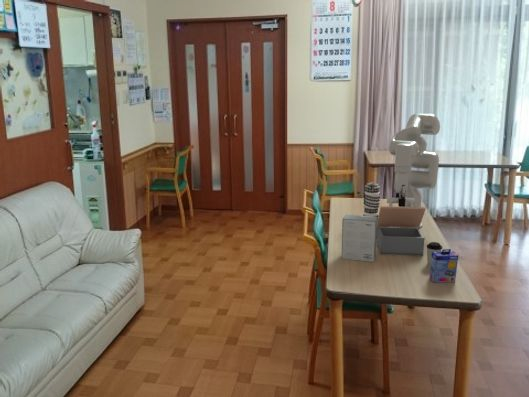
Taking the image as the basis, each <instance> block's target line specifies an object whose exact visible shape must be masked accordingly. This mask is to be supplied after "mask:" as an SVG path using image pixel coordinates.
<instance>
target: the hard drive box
mask: <svg viewBox="0 0 529 397" xmlns="http://www.w3.org/2000/svg"><path fill="white" fill-rule="evenodd" d="M341 226H342V227H341V228H342V229H341V233H342V234H341V259H343V260H344V259H345V260H350V261H351V260H352V261H354V260H355V261H360V262H370V263H374V262H375V261H376V259H377V258H376V257H377V217H372V216H363V215H359V214H358V215H357V214H356V215H354V214H344V215H343V217H342V225H341Z"/></svg>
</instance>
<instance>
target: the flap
mask: <svg viewBox="0 0 529 397" xmlns="http://www.w3.org/2000/svg"><path fill="white" fill-rule="evenodd" d="M405 199H406V200H405V203H406V204H410V207H399V206H394V205H393V204H398V201H399V198H396V197H386V203H387V204H389V205H388V206H379V211H378V215H379V216H378V221H377V227H401V228H405V227H414V228H418V229H420V228H421V227H420V224H421V223H422V220H423V218H424V215H425V211H426V210H427V209H426V207H424V206H421V207H413V204H414V203H415V198H405ZM419 227H420V228H419Z"/></svg>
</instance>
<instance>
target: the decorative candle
mask: <svg viewBox="0 0 529 397" xmlns="http://www.w3.org/2000/svg"><path fill="white" fill-rule="evenodd" d="M364 187H365V188H364V192H363V208H364V209H363V210H364V211H363V214H362V216H372V217H377V221H378V216H379V209H380V206H379V205H380V201H381V200H380V199H381V197H380V195H381V192H380V187H381V186H380V185H379V184H378V183H377V182H367V183H366V185H364Z"/></svg>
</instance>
